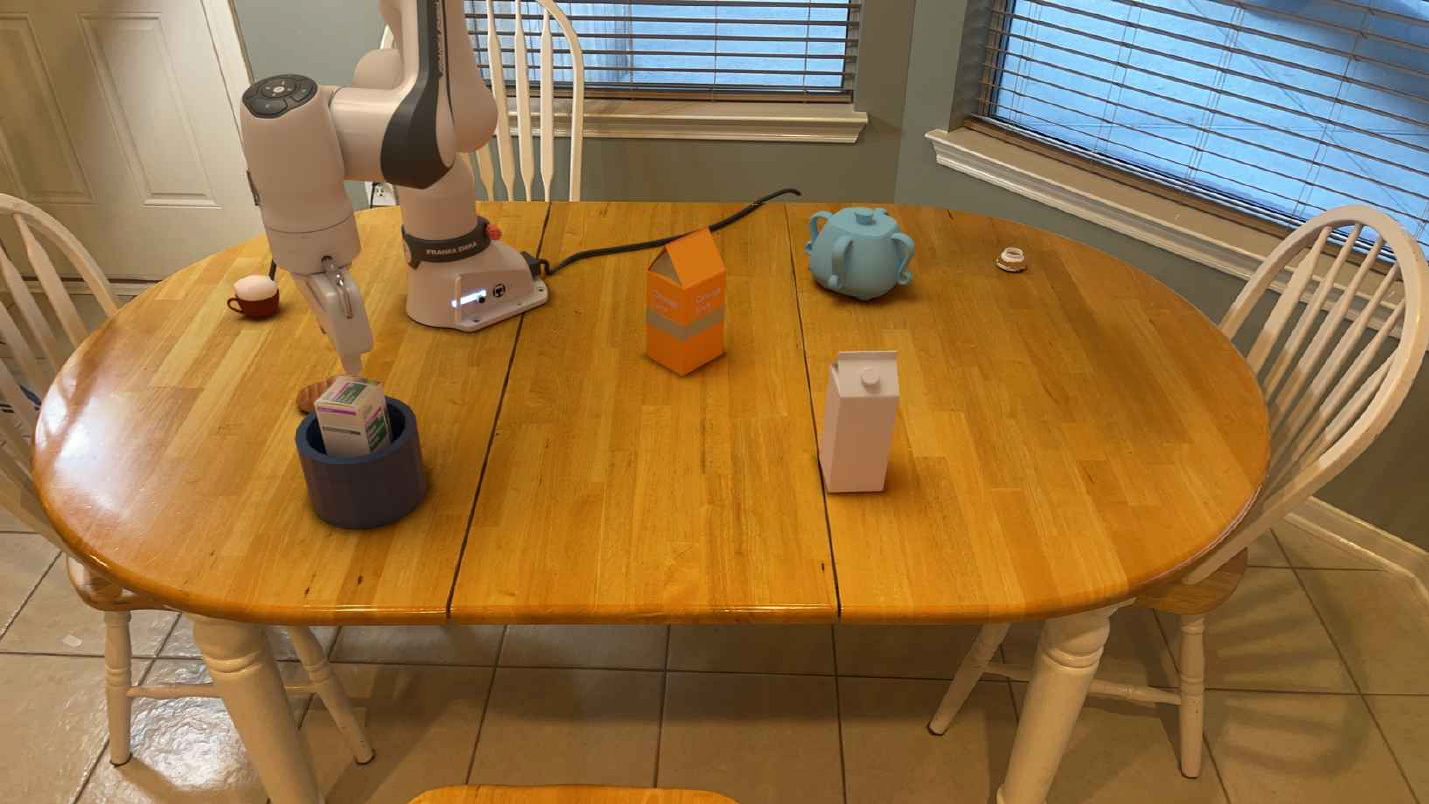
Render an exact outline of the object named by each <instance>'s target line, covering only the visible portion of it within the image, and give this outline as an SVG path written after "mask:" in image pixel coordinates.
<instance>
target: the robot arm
mask: <svg viewBox="0 0 1429 804" xmlns="http://www.w3.org/2000/svg"><path fill="white" fill-rule="evenodd" d="M378 7H379V11H380V14H381V17H382V19H383V21H384V22H385V24H386V25H387V27H388V28H389V31H390V32H391V34H392V37H393V39H394V42H395V45H396V48H376V49H372V50H371V51H368V52H367V53H366V54H365V55H363V56H362V57H361V58H360V60H359V61H358V63H357V65H356V67H355V69H354V72H353V77H352V87H349V86H344V85H343V86H342V85H330V84H318V82H316V81H315V79H313V78H310V77H308V76H306V75H302V74H296V73H284V74H276V75H272V76H269V77H266V78H265V77H264V78H262V79H261V80H259V81H256V82H255V83H252V84H251V85H250V86H249V87H247V89H246V90H244V92H243V93H242V95H241V97H240V103H239V117H240V128H241V129H240V130H241V138H242V144H243V150H244V154H245V159H246V162H247V167H248V172H249V174H250V175H249V176H250V179H251V181H252V184H253V186H254V187H255V189H256V191H257V192H258V194H259V196H260V200H261V219H262V223H263V227H264V231H265V235H266V238H267V242H268V246H269V250H270V253H271V254H270V255H271V258H272V257H273V261H274V263H275V264H276V265H277V267H278V268H279V269H281V270H283V271H286V272H289V274H290V276H291V278H292V280H293V281H294V283H295V284H296V287H297V288H298V289H299V291H300V294H302V296H303V298H304V299H305V302H306V303H307V305H308V306H309V308H310V310H311V312H312V314H313V315H314V316H315V318H316V322H317V323H316V324H317V327H318V328H319V330H320V331H321V333H322V334H323V335H326V337H327V338H328V340H329V342H330V343H331V345H332V347H333V348H334V350H335V351H336V354H337V356H339V359H340V363H341V366H342V369H343V370H344V372H345V374H346V375H355V374H356V373H361V372H362V371H363V363H362V359H361V358H362V355H363V354H366V353H369V352H372V351H373V350H374V345H375V343H374V339H373V338H374V337H373V333H372V330H371V325H370V321H369V317H368V314H367V313H368V312H367V310H366V309H367V308H366V305H365V302H364V299H363V296H362V293H361V291H360V288H359V286H358V284H357V282H356V281H355V280H354V278H353V276H352V275H351V274H350V272H349V270H350V269H351V268H352V265H353V261H354V260H355V259H356V258H358V257H359V255H360V254H361V250H362V244H361V239H360V235H359V229H358V225H357V221H356V215H355V211H354V205H353V202H352V200H351V199H350V196H349V195H348V192H347V189H346V188H345V187H346V186H345V181H348V182H349V181H352V182H366V183H381V184H389V185H392V186H395V187H396V190H397V191H396V192H397V196H398V202H399V208H400V214H401V218H402V224H401V227H400V230H401V244H402V251H403V255H404V259H405V261H406V263H407V271H408V272H407V273H408V274H407V275H408V281H407V282H408V283H407V297H406V302H405V312H406V314H407V315H408V317H410V318H411V319H412V320H414V321H415V322H417V323H419V324H422V325H426V326H429V327H435V328H449V329H456V330H459V331H464V332H468V333H471V332H476V331H479V330H480V329H484V328H486V327H488V326H491V325H493V324H496V323H499V322H501V321H503V320H506V319H508V318H512V317H513V316H516V315H519V314H521V313H523V312H524V313H525V312H527V311H529V310H532V309H534V308H537V307H538V306H541V305H544V304H546V303H547V302H548V299H549V292H548V287H547V285H546V284H545V282H544V281H543V279H542V278H540V276H541V275H542V265H544V267H543V272H544V273H545V274H546V275H549V276H551V275H553V274H555V273H557V272H558V271H559V270H561V269H563V268H565V267H566V266H567V265H569V264H570V263H571V262H573V261H575V260H577V259H580V258H584V257H588V256H594V255H599V254H609V253H616V252H622V251H629V250H635V249H642V248H647V247H652V246H658V245H662V244H668V243H670V242H672V241H675V240H677V239H679V238H682V237H684V236H686V235H688V234H691V233H693V232H695V231H698V230H700V229H701V228H699V229H696V230H692V231H689V232H686V233H682V234H679V235H674V236H670V237H669V236H668V237H664V238H659V239H655V240H654V239H653V240H648V241H644V242H638V243H637V242H636V243H631V244H623V245H617V246H610V247H604V248H603V247H602V248H595V249H588V250H583V251H579V252H576V253H573V254H571V255H569V256H568V257H567V258H565V260H563V261H562V262H561V263H560V264H559V265H558V266H556V267H555V268H553V269H551V268H550V266H551V264H550V261H549V260H547V259H545V258H536V257H534V256H533V255H531V254H530V253H528V251H526V250H522V251H520V252H519V251H518V250H517V249H516V248H515V247H513V246H512V245H511V244H508V243H506V242H504V241H501V238H502V236H503V232H502V230H501V228H499V227H498V226H497V225H495V224H493V223H492V224H491V223H490V221H489V220H488V219H487V218H485V217H483V216H482V215H481V214H479V213H478V211H477V202H476V193H475V184H474V176H473V174H472V171H471V169H470V167H469V165H468V164H467V162H466V161H465V159H464V158H463V156H462V155H461V153H462V154H469V153H474V152H477V151H479V150H481V149H482V148H484V147H485V146H486V145H487V144H488V143H489V142H490V141H491V139H492V138H493V136H494V135H495V132H496V129H497V126H498V121H499V109H498V108H499V107H498V104H497V100H496V99H495V97H494V95H493V94H492V92H491V91H490V89H489V87H488V86H487V85H486V83H485V81H484V79H483V77H482V75H481V72H480V70H479V67H478V65H477V61H476V58H475V54H474V50H473V48H472V47H473V46H472V43H471V40H470V36H469V31H468V26H467V19H466V11H465V0H378ZM785 194H794V195H796V196H798V197H800V196H802V192H801V191H799V190H798V189H796V188H792V187H791V188H790V187H789V188H783V189H780V190H777V191H775V192H773V193H771V194H769V195H766V196H762V197H760V198H759V199H757V200H756V201H754V202H752V204H759V205H761V204H763V203H765V202H767V201H770V200H772V199H774V198H777V197H779V196H782V195H785ZM759 205H753V206H752V205H751V204H749V205H748V206H747V207H745V208H743V209H742V210H740V211H737V212H736V213H735V214H733V215H732V214H731V215H730V216H729V217H727V218H724V219H722V220H720V221H718V222H715V223H713V224H710V225H707V226H708V228H709V231H710V232H711V231H713V230H715V229H718V228H721V227H723V226H725V225H727V224H729V223H731V222H733V221H735V220H736V219H739V218H740V217H742V216H744V215H746V214H747V213H749V212H751V211H752V210H754V209H756V207H758V206H759ZM749 207H750V208H749Z"/></svg>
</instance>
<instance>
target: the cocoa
mask: <svg viewBox="0 0 1429 804" xmlns="http://www.w3.org/2000/svg"><path fill="white" fill-rule="evenodd" d="M277 267H278V266H277V265H276V264H275V263H274V261H273V257H272V256H271V262H270V267H269V271H268V272H269V273H268V275H260V274H251V275H248V276H246V277H243V278H241V279H239V280H237V281H235V282H234V284H233V289H234V292H235V294H234V296H235V297H230V298H228V299H227V301H226V305H227V307H228V308H229V309H230V310H231V311H233V312H235V313H238V314H242V315H246V316H249V317H251V318H256V319H261V318H267V317H269V316H271V315H272V314H274V313H275V312H276V311H277V310H278V308H279V304H280V289H279V288H278V287H279V282H278V281H277V279H276V271H277ZM231 302H237V305H238V307H239V308H240V309H238V308H236V307H233V306H232V305H231Z"/></svg>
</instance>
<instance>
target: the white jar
mask: <svg viewBox="0 0 1429 804" xmlns="http://www.w3.org/2000/svg"><path fill="white" fill-rule="evenodd" d="M1007 252H1015V253H1017V254H1020V255H1012V254H1009V253H1007ZM1000 255H1001V258H1002V259H1003V260H1004V261H1006V262H1013V263H1014V262H1022V261H1023V260H1025V256H1024V254H1023V251H1022V250H1021V249H1020V248H1017V247H1007V248H1005V249H1004V251H1003V252H1002V253H1001V254H1000ZM996 262H998V258H997V259H996ZM996 265H997V266H998V267H999V268H1000V269H1003V270H1005V271H1009V272H1020V271H1019V270H1018V269H1016V270H1018V271H1016V270H1015V269H1014V270H1013V269H1010V267H1006V266H1004V265H1002V264H1000V263H996ZM1006 268H1007V269H1006ZM1008 268H1009V269H1008ZM1021 268H1023V267H1021ZM1025 268H1026V267H1024V269H1025Z"/></svg>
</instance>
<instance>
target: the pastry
mask: <svg viewBox="0 0 1429 804" xmlns="http://www.w3.org/2000/svg"><path fill="white" fill-rule="evenodd" d="M338 376H347V377H358V378H364V379H365V377H364V375H363V374H362V373H361V372H359V373H355V374H352V375H348V374H334V375H330V376H329V377H328V378H326V379H324V380H321V381H317V382H316V381H315V382H313V383H312V384H310V385H307V386H305V387H303V388H302V389H300V390H299V392H298V393H297V396H296V398H295V404H296V405H297V407H298V408H299V409H300V410H302V411H304V412H307V413H309V414H310V413H311V412H312V411H314V410H315V406H314V402H315V401H316V400H317V399H318V398H319V397H320V396H321V395H322V394H323V393H324V391H325V390H326V389H327V388H328V387H330V386H331V385H332V384H333V383H334V382H335V380H336V379H337V377H338Z"/></svg>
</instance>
